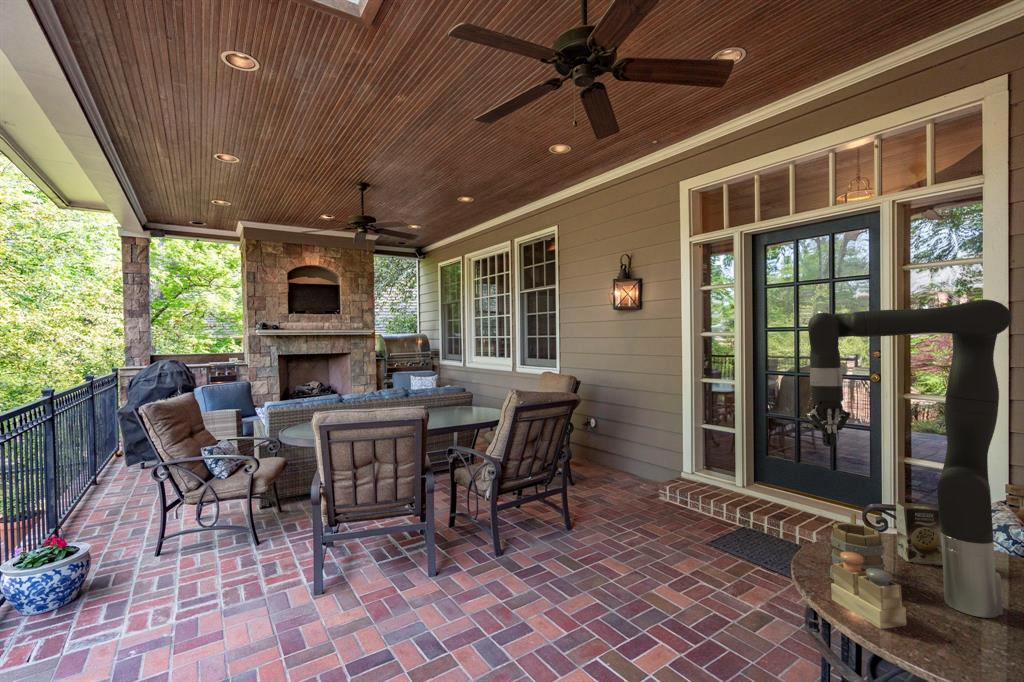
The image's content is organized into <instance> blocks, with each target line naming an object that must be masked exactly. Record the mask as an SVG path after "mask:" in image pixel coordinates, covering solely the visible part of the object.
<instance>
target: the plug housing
mask: <svg viewBox="0 0 1024 682" xmlns="http://www.w3.org/2000/svg"><path fill="white" fill-rule="evenodd" d="M832 565H833V572H834V580H833V583H830V584H831V585H830V589H831V590H830V591H831V600H832V601H834V602H835V603H837V604H838V605H840V606H842V607H844V608H845V609H846V610H848V611H850V612H851V613H853V614H855V615H857V617H860V618H861V619H863V620H865V621H866V622H869V624H872V625H873V626H875V627H877V628H878V629H880V630H884V629H890V628H891V629H892V628H896V627H905V626H907V612H906V611H907V609H906V607H905V606H903V601H902V600H903V599H902V585H900V584H899V583H898V582H897V583H896V582H894V581H893V580H891V582H889V586H881V587H880V586H878V585H876V584H874V583H872V582H870V581H869V578H868V577H867V576H866V570H867V569H866V568H864V567H862V566H861V572H854V573H852V572H850V571H848V570H847V569H845V568H844V566H843V563H836V564H834V563H832Z"/></svg>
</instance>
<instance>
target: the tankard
mask: <svg viewBox="0 0 1024 682" xmlns="http://www.w3.org/2000/svg"><path fill="white" fill-rule="evenodd" d="M849 517H850V518H849V519H850V522H839V523H834V524H833V527H832V531H831V536H830V544H831V546H833V548H832V552H831V554H830V556H831V563H832V564H830V570H829V578H830V579H831V580H833V581H834V572H833V564H836V563H843V560H841V554H840V553H841V552H853V553H857V554H859V555H861V556H863V564H861V566H862V567H864V568H866V569H869V568H874V569H880V570H883V571H885V567H886V564H885V562H884V558H883V557H881V556H883V555H884V549H885V547H884V545H883V540H881V538H880V531H879V530H877V529H874V528H872V527H869V526H867V525H863V524H857V514H856V513H853V512H850V514H849Z"/></svg>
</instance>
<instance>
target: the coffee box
mask: <svg viewBox="0 0 1024 682" xmlns="http://www.w3.org/2000/svg"><path fill="white" fill-rule="evenodd" d="M895 510H896V512H895V513H896V514H895V516H896V540H897V541H896V542H897V545H896V546H897V554H898V555H899V556H900V557H901V558H902V557H903V558H902V559H903V560H905V561H906V562H907V561H908V562H907V563H910V562H913V563H912V564H922V565H932V564H934V566H942V565H943V561H942V544H941V529H940V522H939V511H938V507H935V506H933V505H932V504H928V503H927V504H926V503H925V504H924V503H912V502H911V503H909V502H900V501H899V502H898V501H897V502H896V501H895Z"/></svg>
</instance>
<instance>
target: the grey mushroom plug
mask: <svg viewBox="0 0 1024 682" xmlns="http://www.w3.org/2000/svg"><path fill="white" fill-rule="evenodd" d="M866 576H867V577H868V578H869V581H870V582H872V583H874V584H876V585H878V586H880V587H881V586H889V582H891V581H892V574H891V573H890V572H887V570H886V571H885V570H884V571H883V570H880V569H874V568H869V569H867V570H866Z"/></svg>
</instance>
